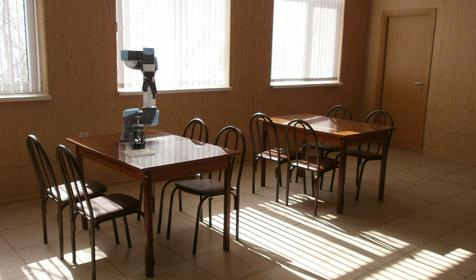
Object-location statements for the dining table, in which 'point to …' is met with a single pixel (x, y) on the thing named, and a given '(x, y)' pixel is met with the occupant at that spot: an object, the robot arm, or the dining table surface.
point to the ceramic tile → (139, 153)
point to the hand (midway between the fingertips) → (149, 102)
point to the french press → (134, 137)
